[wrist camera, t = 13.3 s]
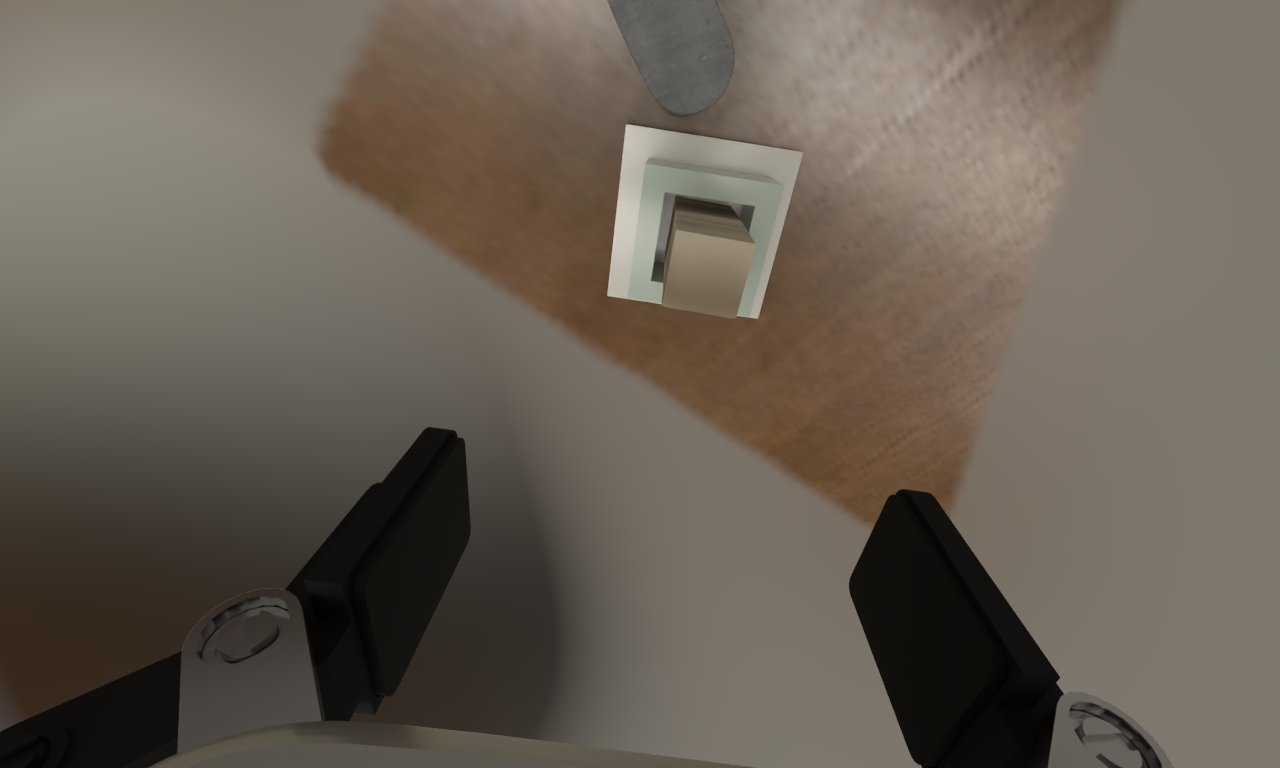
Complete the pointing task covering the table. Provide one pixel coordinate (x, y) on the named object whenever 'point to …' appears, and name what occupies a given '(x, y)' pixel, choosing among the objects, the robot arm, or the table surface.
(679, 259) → the beech peg
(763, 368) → the table surface
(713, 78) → the hip flask
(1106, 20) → the table surface
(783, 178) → the socket holder
